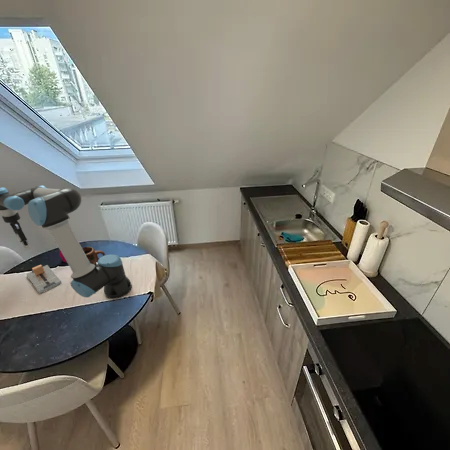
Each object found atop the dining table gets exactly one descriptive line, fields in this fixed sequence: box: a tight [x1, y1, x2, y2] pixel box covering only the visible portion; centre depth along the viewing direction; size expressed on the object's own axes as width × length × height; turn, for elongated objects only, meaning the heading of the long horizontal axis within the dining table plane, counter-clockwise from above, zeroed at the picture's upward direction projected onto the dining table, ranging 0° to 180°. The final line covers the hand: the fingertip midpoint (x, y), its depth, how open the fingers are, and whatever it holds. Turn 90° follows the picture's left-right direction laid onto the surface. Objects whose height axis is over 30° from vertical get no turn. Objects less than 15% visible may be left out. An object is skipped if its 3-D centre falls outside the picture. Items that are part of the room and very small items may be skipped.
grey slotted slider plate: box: [25, 264, 62, 295], centre depth 157 cm, size 24×12×3 cm, turn 49°
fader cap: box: [31, 264, 45, 276], centre depth 159 cm, size 2×5×5 cm, turn 139°
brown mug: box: [82, 246, 106, 266], centre depth 164 cm, size 20×12×14 cm, turn 113°
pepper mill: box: [54, 241, 67, 263], centre depth 170 cm, size 7×7×20 cm
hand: (25, 245), depth 155 cm, fingers open, 11 cm apart
